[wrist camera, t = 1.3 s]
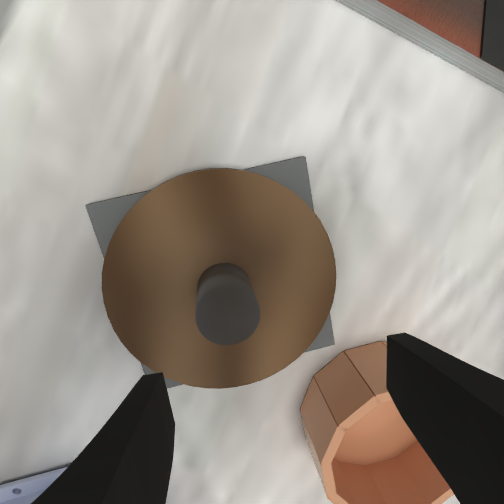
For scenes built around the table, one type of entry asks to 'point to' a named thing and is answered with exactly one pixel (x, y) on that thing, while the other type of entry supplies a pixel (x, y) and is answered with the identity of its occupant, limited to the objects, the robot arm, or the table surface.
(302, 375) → the table surface
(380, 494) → the bowl
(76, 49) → the table surface
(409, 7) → the picture frame
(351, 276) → the table surface
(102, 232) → the mat
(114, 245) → the lid
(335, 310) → the table surface
